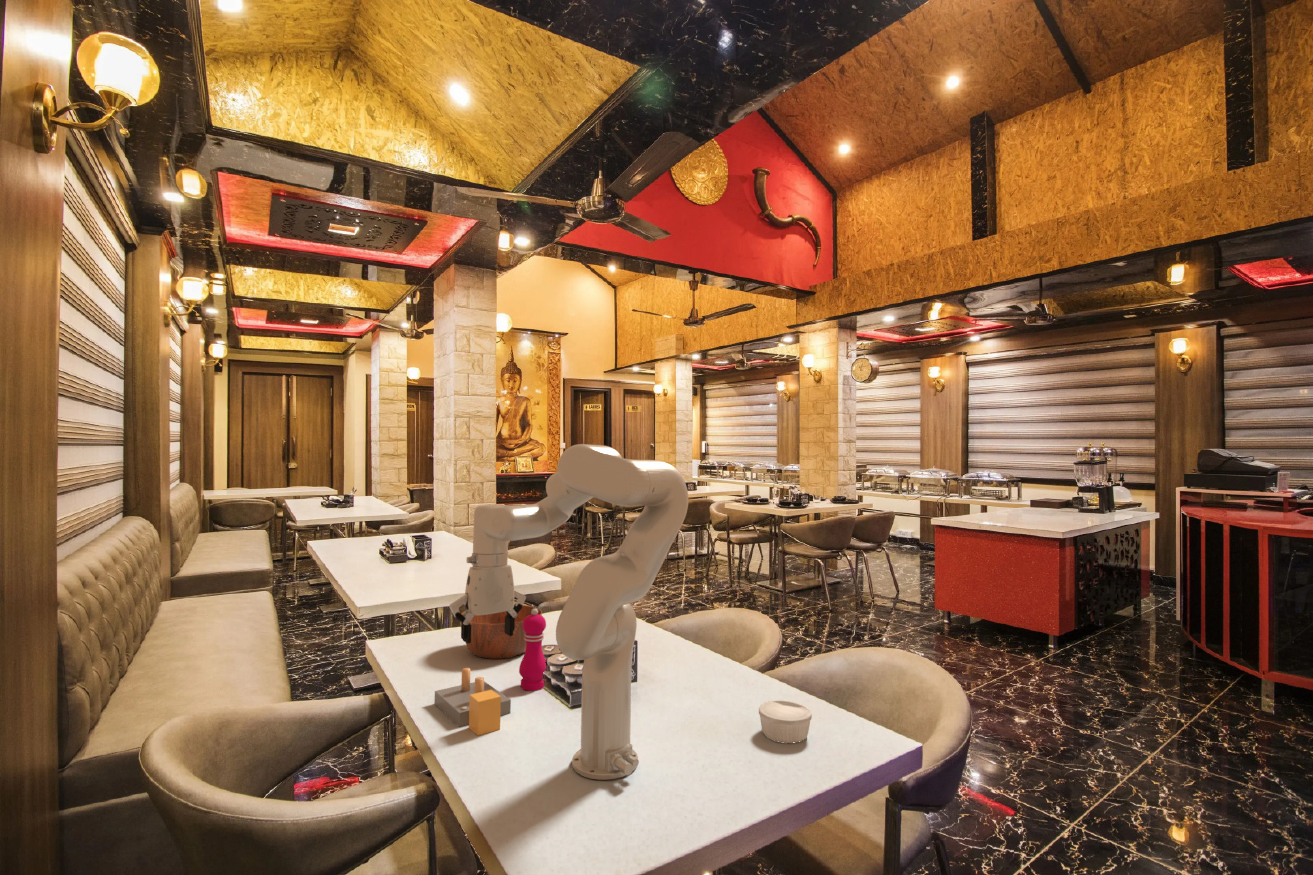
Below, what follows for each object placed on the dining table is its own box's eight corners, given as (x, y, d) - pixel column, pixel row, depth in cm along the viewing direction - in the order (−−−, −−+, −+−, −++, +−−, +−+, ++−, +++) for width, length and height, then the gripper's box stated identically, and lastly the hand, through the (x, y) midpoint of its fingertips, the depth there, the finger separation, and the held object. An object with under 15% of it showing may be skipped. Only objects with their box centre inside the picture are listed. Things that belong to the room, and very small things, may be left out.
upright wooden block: (500, 729, 129) (500, 696, 129) (477, 735, 126) (478, 701, 126) (490, 721, 133) (491, 689, 133) (468, 727, 130) (469, 694, 130)
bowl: (518, 635, 201) (519, 601, 202) (556, 653, 182) (557, 615, 182) (445, 648, 185) (446, 611, 186) (477, 670, 166) (479, 628, 167)
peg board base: (510, 713, 137) (511, 677, 138) (459, 726, 130) (460, 689, 130) (482, 692, 150) (483, 660, 150) (434, 703, 142) (435, 669, 143)
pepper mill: (550, 682, 157) (552, 605, 158) (542, 692, 150) (544, 612, 151) (523, 680, 158) (525, 604, 159) (514, 690, 151) (516, 611, 152)
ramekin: (812, 727, 132) (812, 703, 132) (811, 749, 121) (811, 723, 122) (761, 720, 135) (761, 697, 135) (756, 742, 124) (756, 716, 125)
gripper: (457, 566, 124) (455, 649, 123) (533, 559, 135) (531, 635, 134) (445, 561, 130) (443, 640, 129) (518, 555, 141) (517, 628, 140)
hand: (488, 638), depth 132 cm, fingers open, 9 cm apart
